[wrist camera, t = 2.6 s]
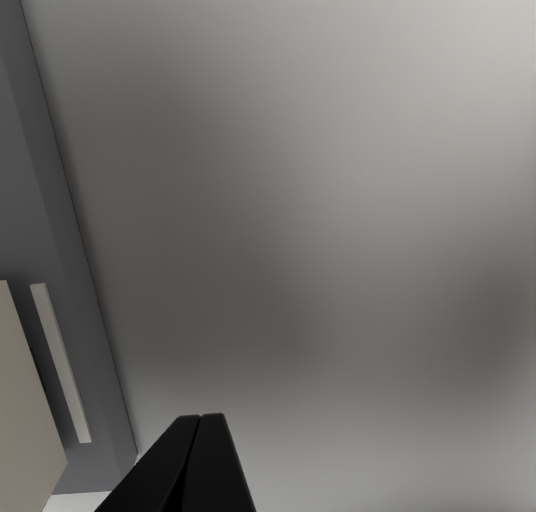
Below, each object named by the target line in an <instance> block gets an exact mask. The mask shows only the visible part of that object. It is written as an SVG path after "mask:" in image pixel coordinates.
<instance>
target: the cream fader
mask: <svg viewBox="0 0 536 512" xmlns="http://www.w3.org/2000/svg"><path fill="white" fill-rule="evenodd" d="M67 464H68V461H67V458H66V455H65V452H64V449H63V446H62V443H61V440H60V437H59V434H58V431H57V428H56V426H55V423H54V420H53V417H52V414H51V411H50V408H49V405H48V402H47V399H46V396H45V393H44V390H43V387H42V384H41V381H40V379H39V376H38V373H37V370H36V367H35V364H34V361H33V358H32V355H31V352H30V349H29V346H28V343H27V340H26V337H25V334H24V331H23V329H22V326H21V323H20V320H19V317H18V314H17V311H16V308H15V305H14V302H13V299H12V296H11V293H10V290H9V287H8V284H7V281H6V280H2V281H0V512H42V511H43V509H44V507H45V505H46V503H47V501H48V499H49V498H50V496H51V494H52V492H53V490H54V488H55V486H56V484H57V482H58V481H59V479H60V477H61V475H62V473H63V471H64V469H65V467H66V465H67Z"/></svg>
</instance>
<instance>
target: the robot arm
mask: <svg viewBox="0 0 536 512" xmlns="http://www.w3.org/2000/svg"><path fill="white" fill-rule="evenodd" d="M94 512H256V509H255V506H254V503H253V500H252V497H251V494H250V491H249V488H248V485H247V482H246V479H245V476H244V472H243V469H242V466H241V463H240V460H239V457H238V454H237V451H236V448H235V445H234V442H233V439H232V436H231V433H230V430H229V427H228V424H227V421H226V418H225V415H224V414H223V413H211V414H204V415H202V417H201V416H200V415H183V416H179V417H178V418H176V419H175V421H174V422H173V423H172V424H171V425H170V426H169V427H168V428H167V430H166V431H165V432H164V433H163V434H162V435H161V436H160V437H159V439H158V440H157V441H156V442H155V443H154V444H153V445H152V447H151V448H150V449H149V450H148V451H147V452H146V453H145V454H144V456H143V457H142V458H141V459H140V460H139V461H138V462H137V463H136V465H135V466H134V467H133V468H132V469H131V470H130V471H129V473H128V474H127V475H126V476H125V477H124V478H123V479H122V480H121V482H120V483H119V484H118V485H117V486H116V487H115V488H114V490H113V491H112V492H111V493H110V494H109V495H108V496H107V497H106V499H105V500H104V501H103V502H102V503H101V504H100V505H99V506H98V508H97V509H96V510H95V511H94Z"/></svg>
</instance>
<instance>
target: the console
mask: <svg viewBox="0 0 536 512" xmlns="http://www.w3.org/2000/svg"><path fill="white" fill-rule="evenodd" d="M2 280H6V281H7V284H8V287H9V290H10V293H11V296H12V299H13V302H14V305H15V308H16V311H17V314H18V317H19V320H20V323H21V326H22V329H23V331H24V334H25V337H26V340H27V343H28V346H29V349H30V352H31V355H32V358H33V361H34V364H35V367H36V370H37V373H38V376H39V379H40V381H41V384H42V387H43V390H44V393H45V396H46V399H47V402H48V405H49V408H50V411H51V414H52V417H53V420H54V423H55V426H56V428H57V431H58V434H59V437H60V440H61V443H62V446H63V449H64V452H65V455H66V458H67V461H68V464H67V465H66V467H65V469H64V471H63V473H62V475H61V477H60V479H59V481H58V482H57V484H56V486H55V488H54V490H53V492H52V494H51V495H55V494H70V493H86V492H101V491H113V490H114V488H115V487H116V486H117V485H118V484H119V483H120V482H121V480H122V479H123V478H124V477H125V476H126V475H127V474H128V473H129V471H130V470H131V469H132V468H133V466H134V463H135V460H136V458H137V455H138V454H137V450H136V446H135V442H134V439H133V435H132V431H131V427H130V423H129V419H128V416H127V412H126V408H125V404H124V400H123V396H122V392H121V389H120V385H119V381H118V377H117V373H116V369H115V365H114V362H113V358H112V354H111V350H110V346H109V342H108V338H107V335H106V331H105V327H104V323H103V319H102V315H101V312H100V308H99V304H98V300H97V296H96V292H95V288H94V285H93V281H92V277H91V273H90V269H89V265H88V261H87V258H86V254H85V250H84V246H83V242H82V238H81V234H80V231H79V227H78V223H77V219H76V215H75V211H74V208H73V204H72V200H71V196H70V192H69V188H68V184H67V181H66V177H65V173H64V169H63V165H62V161H61V157H60V154H59V150H58V146H57V142H56V138H55V134H54V130H53V127H52V123H51V119H50V115H49V111H48V107H47V103H46V100H45V96H44V92H43V88H42V84H41V80H40V77H39V73H38V69H37V65H36V61H35V57H34V53H33V50H32V46H31V42H30V38H29V34H28V30H27V26H26V23H25V19H24V15H23V11H22V7H21V3H20V0H0V281H2Z"/></svg>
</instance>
